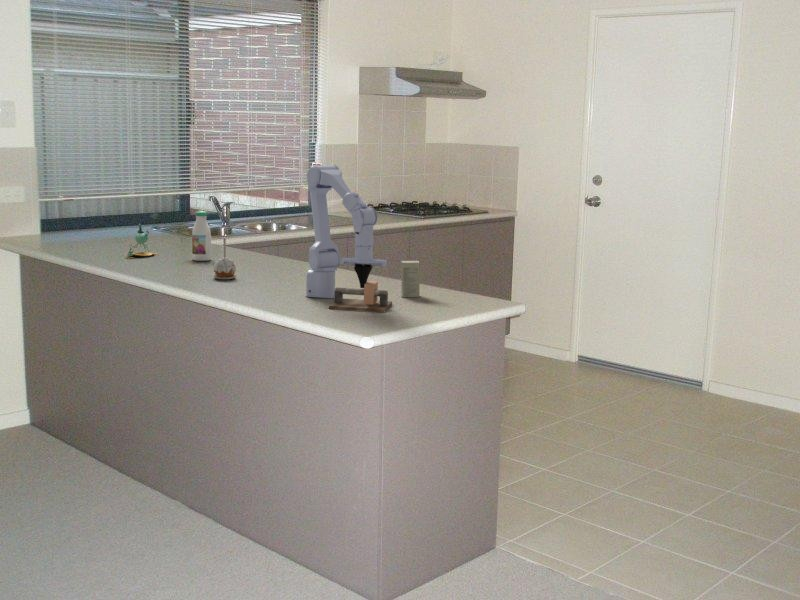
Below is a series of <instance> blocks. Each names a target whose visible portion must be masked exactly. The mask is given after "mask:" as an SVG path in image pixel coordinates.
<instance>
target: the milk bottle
mask: <svg viewBox="0 0 800 600" xmlns="http://www.w3.org/2000/svg"><path fill="white" fill-rule="evenodd" d="M207 218H208V213H207V211H202V210H201V211H195V222H194V225H193V227H192V232H191V250H192V251H191V257H192V261H196V262H205V261H206V262H207V261H208V262H209V261H210V260H212V234H211V227H210V226H209V223H208V220H207Z"/></svg>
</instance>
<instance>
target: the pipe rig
mask: <svg viewBox="0 0 800 600" xmlns="http://www.w3.org/2000/svg"><path fill="white" fill-rule="evenodd" d="M344 295H353V296H364V288H353V287H352V288H349V287H335V291H334V298H333V299H334V301H333V302H332V303H331V304H329V305H328V309H329V310H339V311H341V310H342V311H356V312H371V313H385V312H386V311H388V309H389V308H390V307H392V306H393V301H390V300H389V296H388V295H389V293H388V290H384V289H383V290H382V289H381V290H380V289H378V290H375V296H378V297H379V300H377V302H376V303H374V304H373V305H370V304H364V299H358V298H357V299H356V298H355V299H354V298H343V296H344Z"/></svg>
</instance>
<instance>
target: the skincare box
mask: <svg viewBox="0 0 800 600" xmlns="http://www.w3.org/2000/svg"><path fill="white" fill-rule="evenodd" d="M420 273H421V272H420V261H419V260H401V298H420V275H421V274H420Z"/></svg>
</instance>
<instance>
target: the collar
mask: <svg viewBox="0 0 800 600" xmlns="http://www.w3.org/2000/svg"><path fill="white" fill-rule="evenodd" d="M378 285H379V283H378V281H376V280H375V281H374V280H369V281H368V280H367V283H366V284H364V288H363V289H364V295H363V300H364V304H370V305H373V304H374V303H376V302H377V301H378V297H379V296H375V290H379V289H378V288H379V286H378Z"/></svg>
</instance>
